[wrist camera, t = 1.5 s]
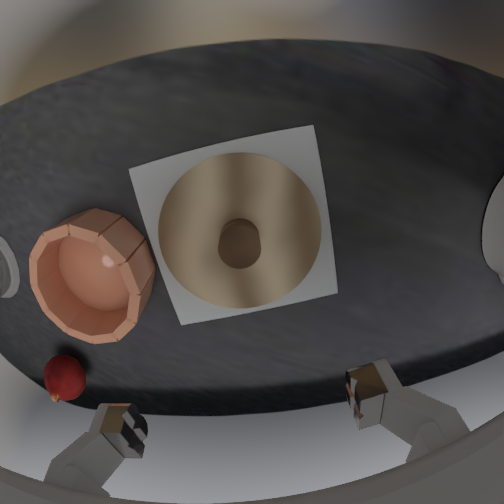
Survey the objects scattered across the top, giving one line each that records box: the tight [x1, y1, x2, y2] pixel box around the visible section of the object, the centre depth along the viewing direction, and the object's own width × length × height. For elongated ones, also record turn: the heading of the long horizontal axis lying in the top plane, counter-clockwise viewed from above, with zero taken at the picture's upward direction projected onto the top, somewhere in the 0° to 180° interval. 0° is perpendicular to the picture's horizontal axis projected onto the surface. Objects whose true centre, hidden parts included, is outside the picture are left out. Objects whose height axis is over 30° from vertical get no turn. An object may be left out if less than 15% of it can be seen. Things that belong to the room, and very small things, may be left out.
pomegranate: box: [44, 355, 86, 402], centre depth 30 cm, size 6×6×8 cm
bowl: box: [29, 208, 156, 344], centre depth 27 cm, size 12×12×6 cm
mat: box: [129, 125, 338, 325], centre depth 28 cm, size 17×17×1 cm
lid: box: [158, 152, 322, 308], centre depth 26 cm, size 15×15×4 cm
